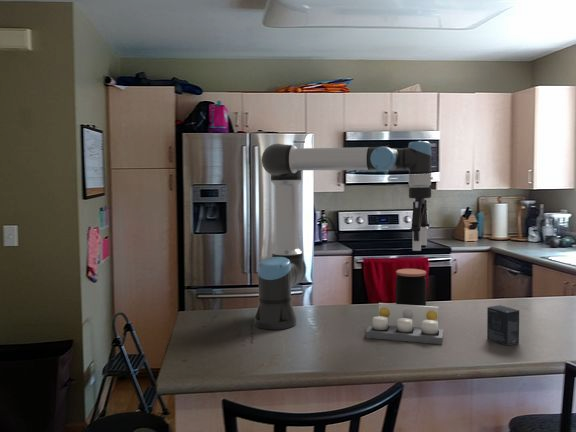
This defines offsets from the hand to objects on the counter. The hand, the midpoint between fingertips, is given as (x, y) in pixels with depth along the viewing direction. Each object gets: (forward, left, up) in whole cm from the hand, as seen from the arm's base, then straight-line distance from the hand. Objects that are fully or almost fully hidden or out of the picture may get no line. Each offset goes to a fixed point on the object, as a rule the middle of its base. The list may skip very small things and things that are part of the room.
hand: (420, 247), depth 180 cm
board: (-4, -15, -27) cm, 31 cm away
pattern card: (-4, -5, -27) cm, 28 cm away
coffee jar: (-4, +5, -28) cm, 28 cm away
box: (+26, -11, -28) cm, 40 cm away
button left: (-12, -15, -25) cm, 31 cm away
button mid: (-4, -15, -25) cm, 29 cm away
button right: (+4, -15, -25) cm, 29 cm away
